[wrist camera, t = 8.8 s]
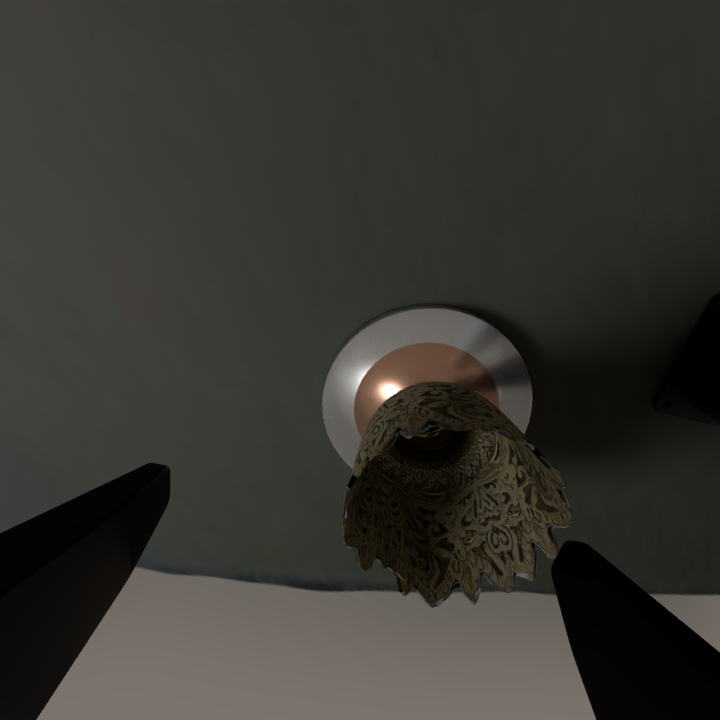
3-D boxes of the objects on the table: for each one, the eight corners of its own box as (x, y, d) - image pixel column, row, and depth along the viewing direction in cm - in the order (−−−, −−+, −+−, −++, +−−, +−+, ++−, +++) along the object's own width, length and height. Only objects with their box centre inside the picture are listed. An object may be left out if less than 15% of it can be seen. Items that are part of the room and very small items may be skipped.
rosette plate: (557, 331, 19) (569, 339, 18) (483, 497, 23) (489, 512, 22) (348, 280, 19) (346, 285, 17) (309, 458, 23) (305, 472, 21)
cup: (326, 411, 20) (294, 526, 12) (427, 313, 18) (463, 382, 10) (423, 491, 21) (447, 637, 14) (526, 410, 19) (620, 531, 12)
